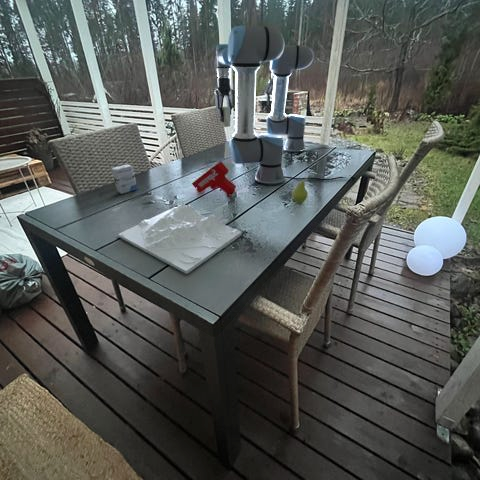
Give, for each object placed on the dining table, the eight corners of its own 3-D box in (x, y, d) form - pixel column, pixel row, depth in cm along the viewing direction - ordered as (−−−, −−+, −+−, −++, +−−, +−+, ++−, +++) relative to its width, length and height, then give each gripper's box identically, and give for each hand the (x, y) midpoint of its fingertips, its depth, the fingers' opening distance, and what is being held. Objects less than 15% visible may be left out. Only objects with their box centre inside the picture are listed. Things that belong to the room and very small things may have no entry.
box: (220, 125, 171) (219, 106, 164) (226, 125, 173) (225, 105, 167) (225, 127, 167) (224, 107, 161) (230, 126, 169) (230, 106, 163)
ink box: (133, 186, 138) (127, 163, 132) (137, 189, 135) (132, 165, 129) (116, 191, 133) (110, 167, 127) (121, 194, 130) (114, 170, 124)
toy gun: (240, 187, 127) (221, 160, 123) (237, 190, 124) (218, 163, 120) (214, 205, 137) (195, 180, 133) (210, 208, 134) (191, 183, 130)
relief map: (186, 274, 80) (184, 260, 77) (118, 236, 97) (114, 224, 95) (241, 234, 98) (241, 222, 95) (176, 209, 116) (174, 198, 113)
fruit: (288, 200, 123) (290, 174, 116) (302, 197, 125) (305, 172, 119) (296, 206, 118) (299, 179, 111) (310, 203, 120) (314, 177, 114)
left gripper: (214, 78, 149) (216, 123, 161) (240, 77, 157) (240, 120, 170) (207, 77, 154) (210, 121, 166) (232, 76, 162) (233, 118, 175)
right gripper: (267, 72, 189) (265, 105, 201) (292, 71, 202) (289, 103, 213) (260, 72, 195) (259, 104, 206) (285, 71, 207) (283, 102, 218)
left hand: (225, 121), depth 168 cm, fingers closed on box, 4 cm apart
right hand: (274, 104), depth 210 cm, fingers open, 13 cm apart
